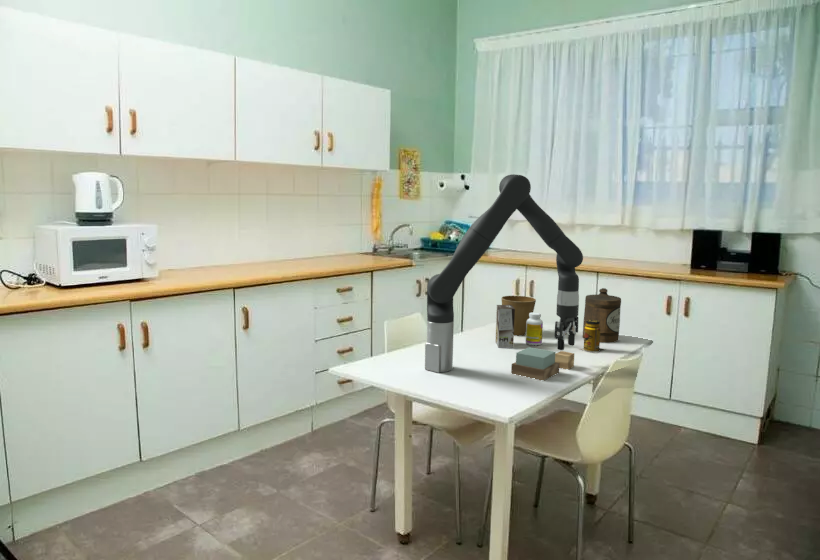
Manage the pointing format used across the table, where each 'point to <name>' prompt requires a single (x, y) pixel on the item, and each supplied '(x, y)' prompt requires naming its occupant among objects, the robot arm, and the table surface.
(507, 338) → the coffee box
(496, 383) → the table surface
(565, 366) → the oak block
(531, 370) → the tower bottom slab
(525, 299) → the plant pot
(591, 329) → the condiment
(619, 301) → the wooden container
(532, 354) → the tower top slab
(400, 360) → the table surface
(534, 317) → the supplement bottle
